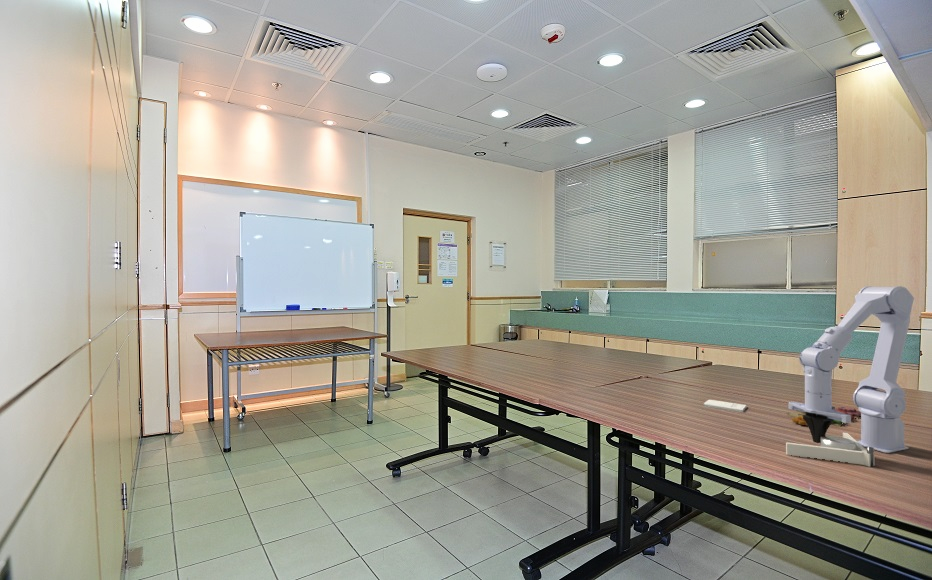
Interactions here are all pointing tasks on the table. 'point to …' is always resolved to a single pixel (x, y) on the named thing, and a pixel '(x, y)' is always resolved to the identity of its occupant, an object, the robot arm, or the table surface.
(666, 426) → the table surface
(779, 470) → the table surface
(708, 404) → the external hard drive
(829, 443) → the translucent glass bowl
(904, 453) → the table surface
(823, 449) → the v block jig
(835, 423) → the gear puzzle
